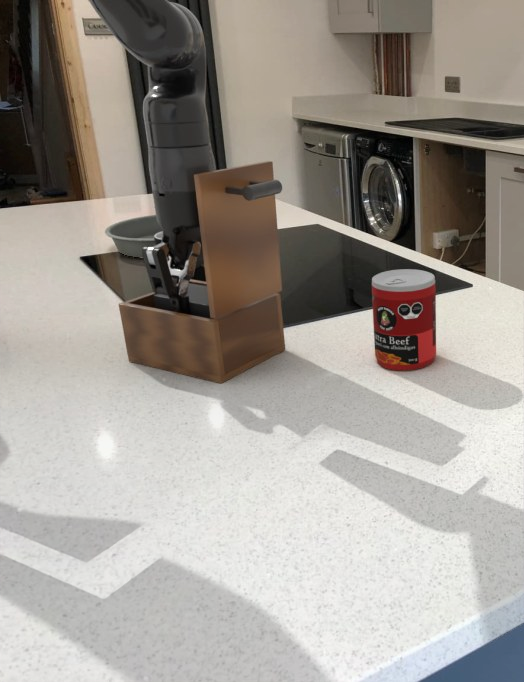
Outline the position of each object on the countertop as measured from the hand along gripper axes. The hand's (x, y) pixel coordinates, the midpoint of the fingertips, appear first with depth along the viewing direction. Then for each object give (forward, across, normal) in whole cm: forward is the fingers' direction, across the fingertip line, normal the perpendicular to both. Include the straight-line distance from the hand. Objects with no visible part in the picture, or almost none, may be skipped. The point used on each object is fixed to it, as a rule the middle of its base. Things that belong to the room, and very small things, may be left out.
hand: (202, 315), depth 94 cm
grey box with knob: (+1, 0, 0) cm, 1 cm away
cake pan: (+6, -42, -50) cm, 66 cm away
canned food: (+6, -10, +24) cm, 27 cm away
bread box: (+6, 0, 0) cm, 6 cm away
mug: (+6, -20, -23) cm, 31 cm away
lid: (-11, 0, +8) cm, 13 cm away
